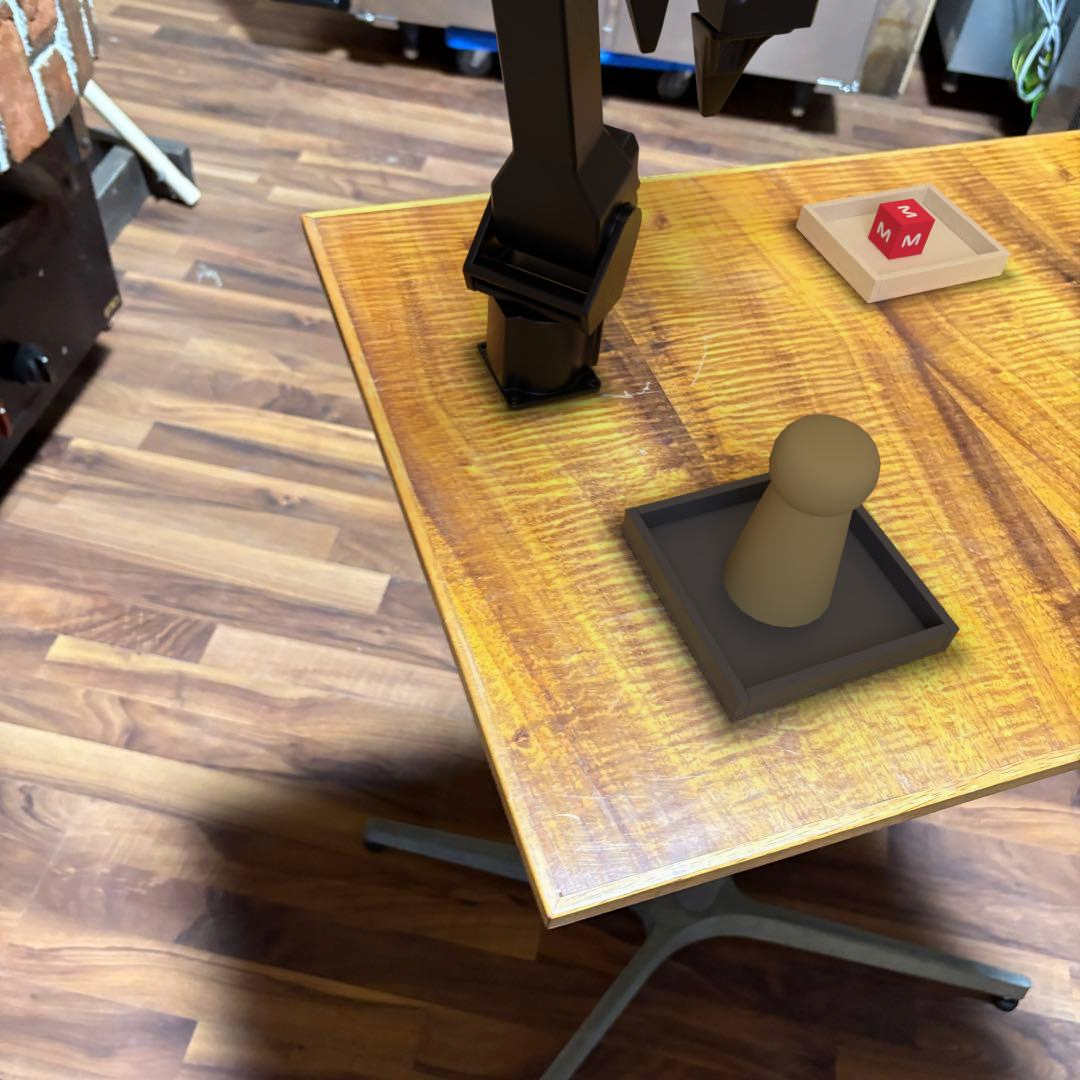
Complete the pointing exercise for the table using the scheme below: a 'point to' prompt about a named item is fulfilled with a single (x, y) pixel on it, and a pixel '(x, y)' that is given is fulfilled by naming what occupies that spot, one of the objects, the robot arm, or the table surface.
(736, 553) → the tan game pawn
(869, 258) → the light tray
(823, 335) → the table surface
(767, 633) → the dark tray
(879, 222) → the red letter m cube
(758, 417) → the table surface
